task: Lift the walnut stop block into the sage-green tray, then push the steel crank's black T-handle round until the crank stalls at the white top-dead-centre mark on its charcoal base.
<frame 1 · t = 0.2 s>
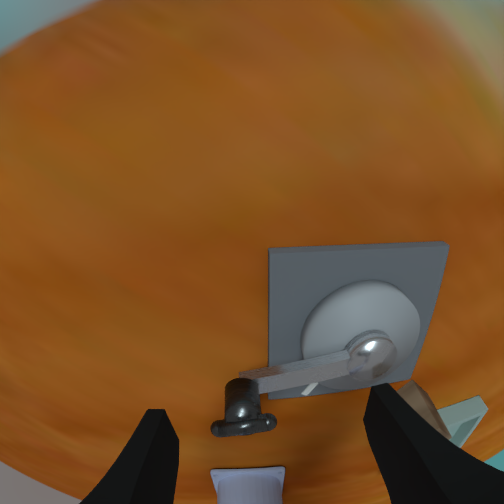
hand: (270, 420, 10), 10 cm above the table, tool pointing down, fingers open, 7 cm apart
tray: (430, 433, 29), on the table
crank base: (354, 325, 21), on the table
stop block: (403, 399, 25), on the table
crank: (317, 389, 16), point 5 cm above the table, hinge at -50.0°
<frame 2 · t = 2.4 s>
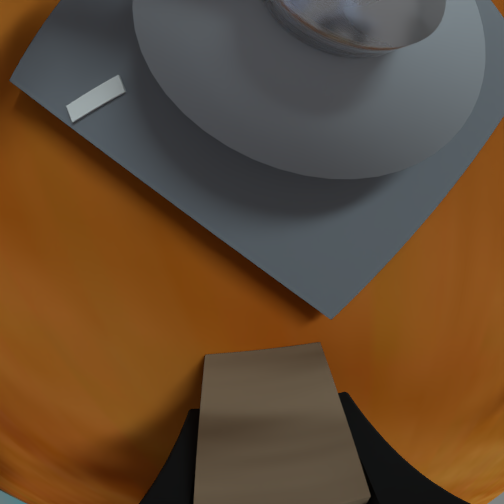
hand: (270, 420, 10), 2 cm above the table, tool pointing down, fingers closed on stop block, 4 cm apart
crank base: (310, 23, 7), on the table
stop block: (266, 387, 11), on the table, touching gripper
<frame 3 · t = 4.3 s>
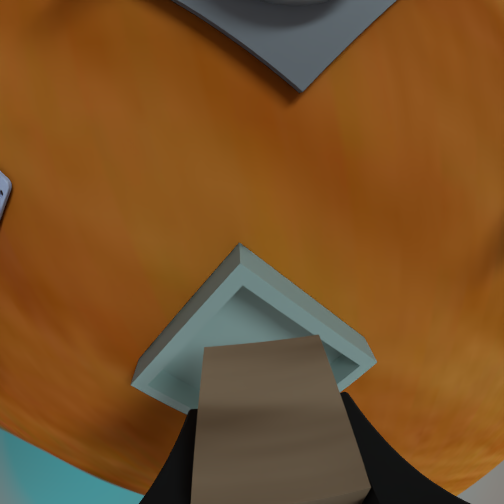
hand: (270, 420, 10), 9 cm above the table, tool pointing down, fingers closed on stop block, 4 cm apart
tray: (251, 352, 19), on the table
stop block: (265, 380, 11), point 7 cm above the table, touching gripper
when the fingers open (4 cm above the table, at t = 6.0 s): stop block drops 1 cm, resting on tray.
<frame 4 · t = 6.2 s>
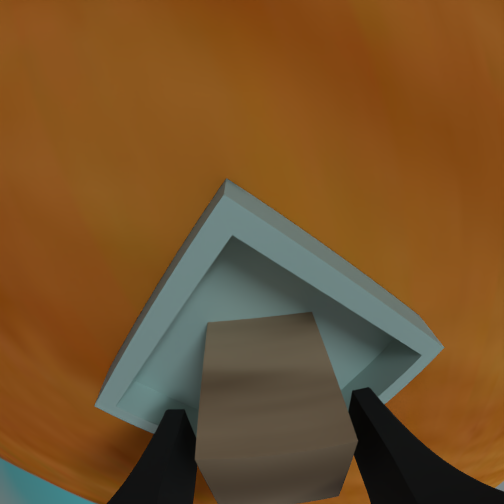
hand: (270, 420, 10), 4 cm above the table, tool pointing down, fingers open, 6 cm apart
tray: (262, 351, 13), on the table
stop block: (263, 356, 13), point 1 cm above the table, touching tray
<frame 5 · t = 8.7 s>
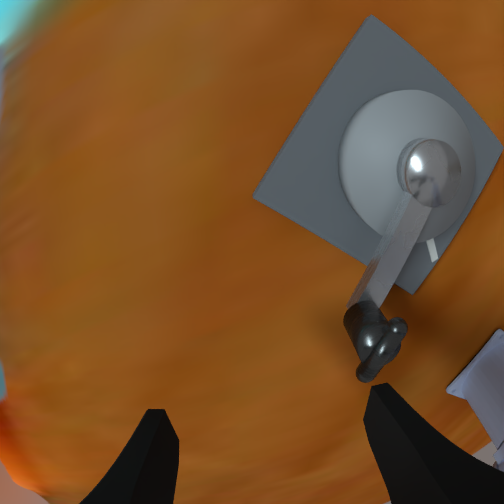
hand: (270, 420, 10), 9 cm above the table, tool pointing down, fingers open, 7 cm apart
crank base: (398, 161, 16), on the table
crank: (413, 252, 13), point 5 cm above the table, hinge at -50.0°
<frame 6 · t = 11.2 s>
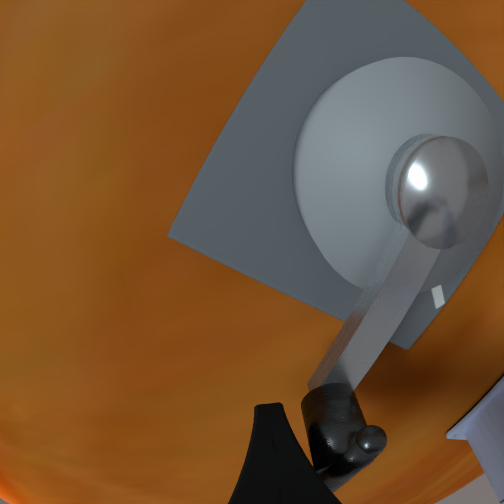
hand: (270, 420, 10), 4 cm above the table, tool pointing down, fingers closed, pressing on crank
crank base: (391, 170, 11), on the table
crank: (407, 327, 8), point 5 cm above the table, hinge at -49.8°, touching gripper
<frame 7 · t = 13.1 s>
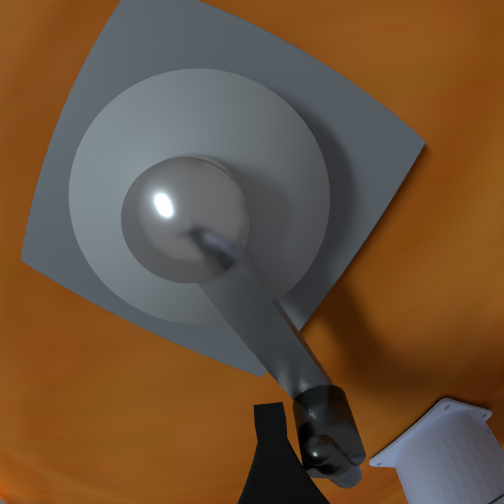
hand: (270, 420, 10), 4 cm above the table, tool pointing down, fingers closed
crank base: (200, 191, 11), on the table
crank: (263, 352, 8), point 5 cm above the table, hinge at 0.8°, touching gripper
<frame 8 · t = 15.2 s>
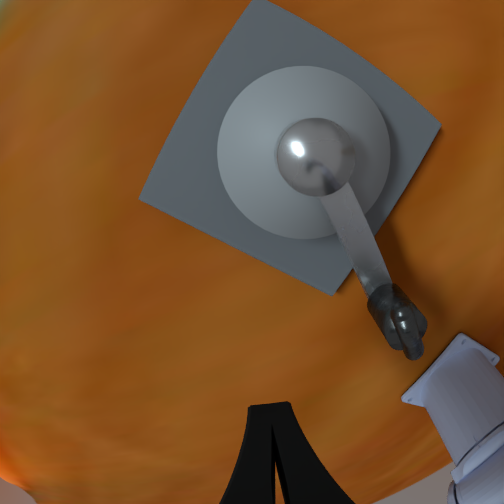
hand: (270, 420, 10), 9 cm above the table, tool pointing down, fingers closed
crank base: (298, 149, 15), on the table
crank: (364, 240, 12), point 5 cm above the table, hinge at 0.9°
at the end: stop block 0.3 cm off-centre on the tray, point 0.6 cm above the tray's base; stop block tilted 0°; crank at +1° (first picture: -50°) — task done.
